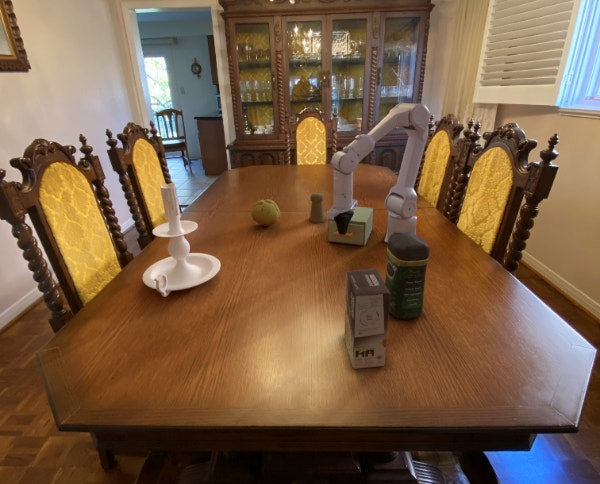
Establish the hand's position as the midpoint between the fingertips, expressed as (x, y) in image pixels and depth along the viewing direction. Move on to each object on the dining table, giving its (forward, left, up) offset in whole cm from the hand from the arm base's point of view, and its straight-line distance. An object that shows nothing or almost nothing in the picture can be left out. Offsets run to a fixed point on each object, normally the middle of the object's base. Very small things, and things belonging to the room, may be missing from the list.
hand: (342, 233), depth 109 cm
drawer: (0, -9, -5) cm, 10 cm away
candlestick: (+37, +33, -6) cm, 50 cm away
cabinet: (0, -13, -6) cm, 14 cm away
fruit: (+33, -13, -6) cm, 36 cm away
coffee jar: (-21, +26, -6) cm, 34 cm away
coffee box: (-15, +43, -6) cm, 46 cm away
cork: (+16, -24, -6) cm, 29 cm away
